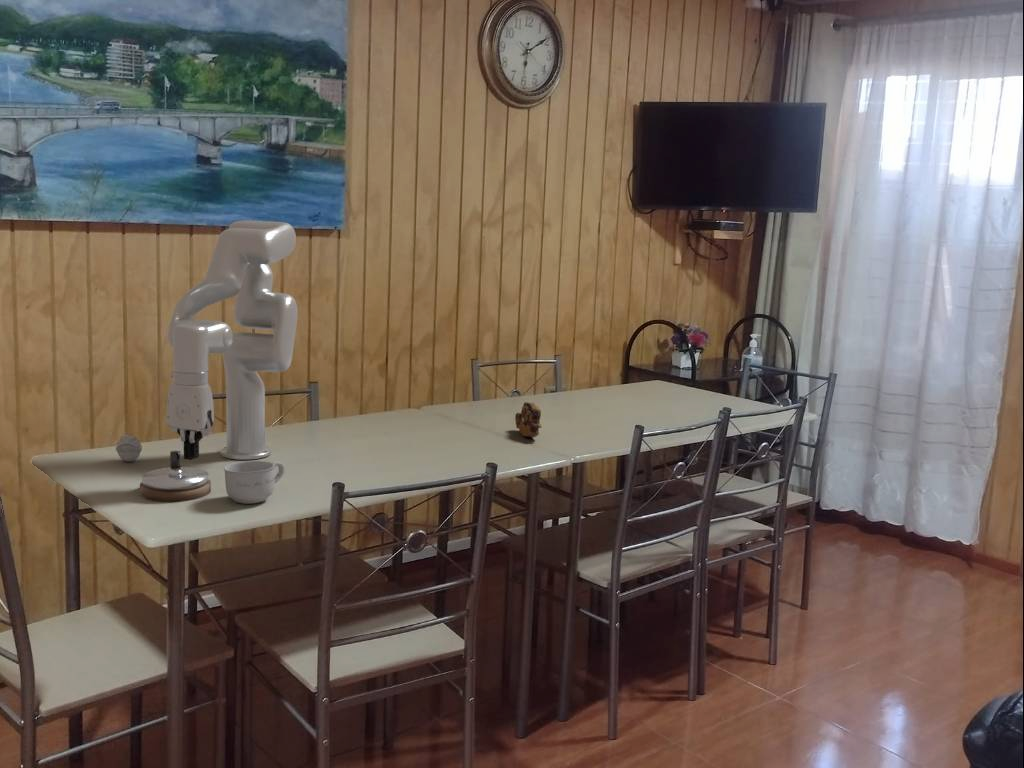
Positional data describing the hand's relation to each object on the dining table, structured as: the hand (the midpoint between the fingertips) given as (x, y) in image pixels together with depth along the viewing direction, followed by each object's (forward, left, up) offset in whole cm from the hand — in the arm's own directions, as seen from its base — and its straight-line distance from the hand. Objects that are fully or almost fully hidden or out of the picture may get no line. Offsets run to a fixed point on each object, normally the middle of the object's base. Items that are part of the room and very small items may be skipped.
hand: (191, 458), depth 225 cm
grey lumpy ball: (-24, -14, -7) cm, 29 cm away
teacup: (+12, +14, -7) cm, 20 cm away
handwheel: (+4, -3, -4) cm, 7 cm away
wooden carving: (-36, +94, -7) cm, 100 cm away
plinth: (+4, -3, -7) cm, 8 cm away
